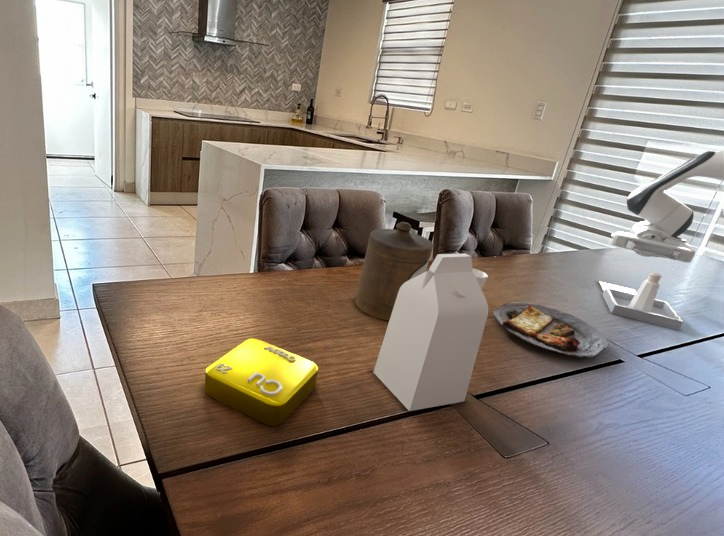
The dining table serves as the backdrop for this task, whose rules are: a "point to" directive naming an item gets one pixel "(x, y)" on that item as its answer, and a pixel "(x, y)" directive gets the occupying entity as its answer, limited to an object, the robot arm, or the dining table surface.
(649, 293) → the pepper shaker
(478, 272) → the cup
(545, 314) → the food plate
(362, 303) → the wooden container
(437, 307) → the milk
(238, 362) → the element tile
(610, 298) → the tray
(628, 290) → the coaster
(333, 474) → the dining table surface
